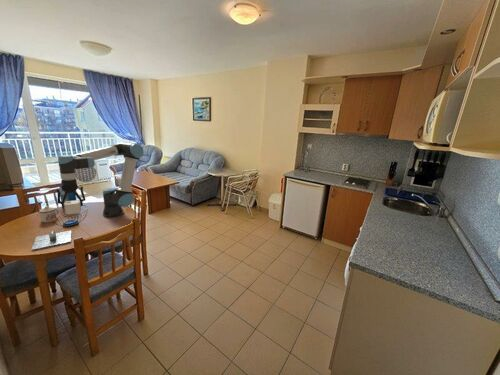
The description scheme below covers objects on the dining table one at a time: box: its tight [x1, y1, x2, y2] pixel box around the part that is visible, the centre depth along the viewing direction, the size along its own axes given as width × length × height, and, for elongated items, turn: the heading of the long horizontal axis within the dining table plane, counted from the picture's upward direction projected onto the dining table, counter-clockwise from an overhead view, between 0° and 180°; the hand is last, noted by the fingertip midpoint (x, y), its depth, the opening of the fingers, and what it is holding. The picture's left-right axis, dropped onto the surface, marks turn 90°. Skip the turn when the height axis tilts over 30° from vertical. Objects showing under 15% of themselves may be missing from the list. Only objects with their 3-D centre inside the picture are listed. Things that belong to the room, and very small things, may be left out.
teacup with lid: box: [38, 205, 59, 223], centre depth 164 cm, size 12×9×12 cm
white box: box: [65, 199, 81, 215], centre depth 142 cm, size 7×7×8 cm
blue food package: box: [59, 184, 77, 203], centre depth 185 cm, size 6×12×25 cm, turn 65°
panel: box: [31, 230, 72, 251], centre depth 137 cm, size 18×18×6 cm
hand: (73, 211), depth 142 cm, fingers closed on white box, 7 cm apart
